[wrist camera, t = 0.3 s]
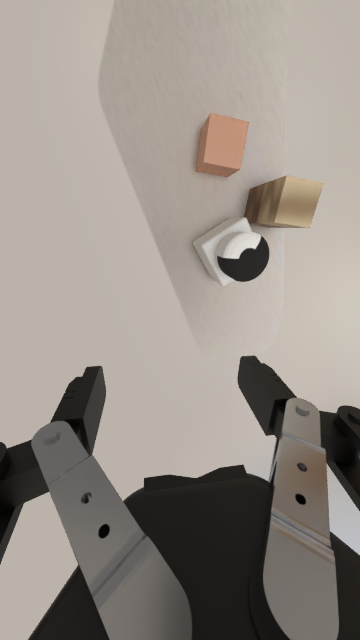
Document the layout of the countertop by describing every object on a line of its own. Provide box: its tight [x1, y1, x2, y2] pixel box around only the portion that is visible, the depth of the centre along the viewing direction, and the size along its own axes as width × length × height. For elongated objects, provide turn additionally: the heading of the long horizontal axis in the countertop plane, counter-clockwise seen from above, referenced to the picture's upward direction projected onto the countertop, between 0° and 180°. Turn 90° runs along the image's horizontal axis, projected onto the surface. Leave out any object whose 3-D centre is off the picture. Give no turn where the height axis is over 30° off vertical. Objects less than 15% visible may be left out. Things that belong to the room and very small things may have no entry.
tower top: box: [256, 176, 324, 228], centre depth 29 cm, size 5×5×5 cm
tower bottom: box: [244, 183, 286, 228], centre depth 34 cm, size 5×5×5 cm
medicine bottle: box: [193, 217, 269, 286], centre depth 32 cm, size 7×7×12 cm
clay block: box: [196, 113, 249, 177], centre depth 30 cm, size 5×5×5 cm
